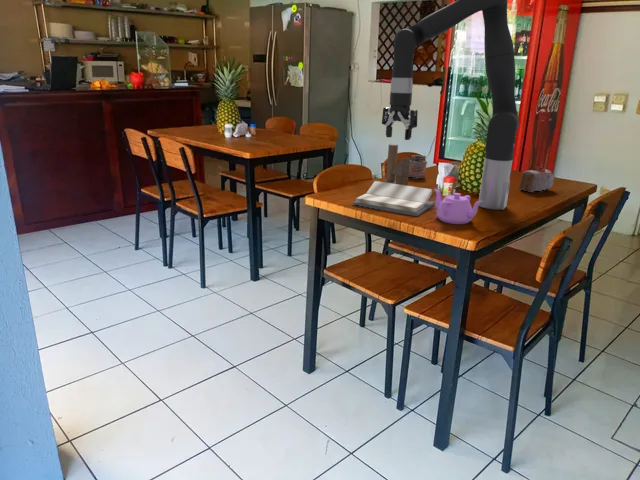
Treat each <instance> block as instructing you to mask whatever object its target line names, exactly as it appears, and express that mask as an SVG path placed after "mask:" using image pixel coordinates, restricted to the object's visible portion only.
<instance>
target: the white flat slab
mask: <svg viewBox="0 0 640 480" xmlns="http://www.w3.org/2000/svg"><path fill="white" fill-rule="evenodd" d="M355 201H356V202H358V203H364V204H369V205H375V206H381V207H387V208H393V209H399V210H405V211H411V212H417V211H419V210H420V209H422V208H423V207H424V203H422V202H415V201H409V200H403V199H397V198H390V197H384V196H378V195H371V194H366V193H364V194H362V195H360V196H358V197H356V198H355Z"/></svg>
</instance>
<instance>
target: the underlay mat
mask: <svg viewBox="0 0 640 480" xmlns="http://www.w3.org/2000/svg"><path fill="white" fill-rule="evenodd" d="M352 204H354V205H353V206H355V205H359V206H358V207H361V206H364V207H363V208H367V207H369V208H368V209H372V208H374V209H373V210H378V209H379V210H380V211H384V210H385V212H390V213H396V214H401V215H408V216H414V217H419V216H420V215H422V214H424V213H425V212H426V211H427V210H429V209H430V208H432V207H433V206H435V204H436V201H430V200H428V201H427V203H426V205H425V206H424V207H423V208H422V209H420V210H419V211H417V212H411V211H405V210H399V209H393V208H387V207H381V206H375V205H369V204H364V203H358V202H356V200H355V201H352ZM379 210H378V211H379Z"/></svg>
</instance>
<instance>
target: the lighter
mask: <svg viewBox="0 0 640 480" xmlns="http://www.w3.org/2000/svg"><path fill="white" fill-rule="evenodd" d="M426 158H427V155H418V154H416V155H411V159H410V165H409V176H408V177H416V178H415V179H418V178H425V177H426V171H427V163H428V161H427V160H426ZM425 179H426V178H425Z"/></svg>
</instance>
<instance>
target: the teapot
mask: <svg viewBox="0 0 640 480" xmlns="http://www.w3.org/2000/svg"><path fill="white" fill-rule="evenodd" d="M433 190H434V192H435V193H436V198H435V208H436V217H437V218H438V219H439V221H441V222H444V223H447V224H451V225H465V224H468V223H470V222H471V221H472V220H473V218H474V217H475V216H476V215H477V213H478V209H479V207H480V206H479V204H480V203H481V202H483V201H479V200H477V201H475V202H474V205H473V207H472V204H471V202H470V201H471V196H470V195H468V194H467V195H464V196H463V195H462V193H458V192H455V193H453V194H452V195H450V194H449V195H446V196H445V197H444V198H443V200H442V195H441V192H440V190H438V189H437V188H434V189H433ZM461 195H462V196H461Z"/></svg>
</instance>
